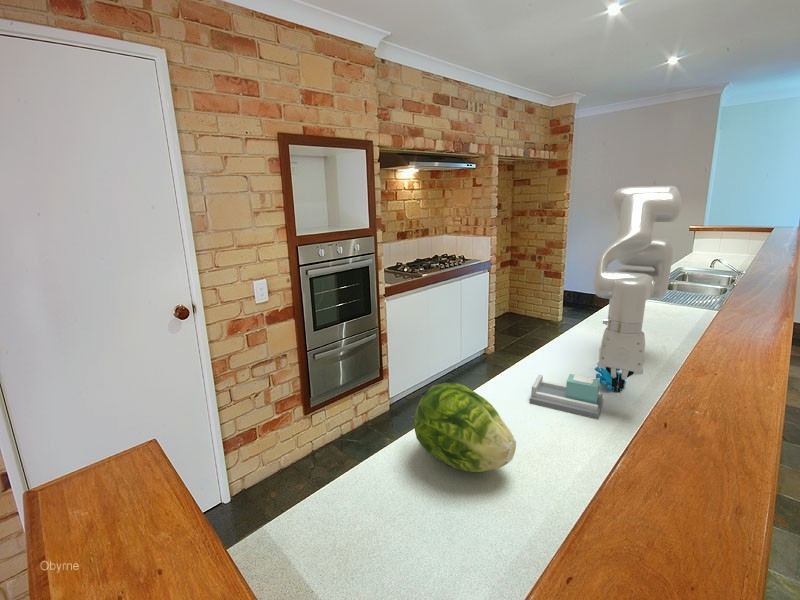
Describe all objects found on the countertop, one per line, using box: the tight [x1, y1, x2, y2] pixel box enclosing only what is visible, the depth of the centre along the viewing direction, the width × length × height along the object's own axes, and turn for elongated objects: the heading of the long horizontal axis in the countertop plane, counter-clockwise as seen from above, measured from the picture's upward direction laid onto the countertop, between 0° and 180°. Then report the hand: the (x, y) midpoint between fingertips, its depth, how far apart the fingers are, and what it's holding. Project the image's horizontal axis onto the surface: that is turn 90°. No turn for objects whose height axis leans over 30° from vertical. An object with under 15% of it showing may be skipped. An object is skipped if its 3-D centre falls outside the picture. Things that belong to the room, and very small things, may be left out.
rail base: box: [529, 374, 604, 420], centre depth 116 cm, size 12×18×4 cm, turn 59°
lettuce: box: [413, 382, 517, 473], centre depth 90 cm, size 18×23×19 cm
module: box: [565, 373, 601, 404], centre depth 113 cm, size 5×8×6 cm, turn 59°
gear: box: [594, 362, 627, 392], centre depth 124 cm, size 11×6×10 cm
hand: (617, 390), depth 108 cm, fingers closed
